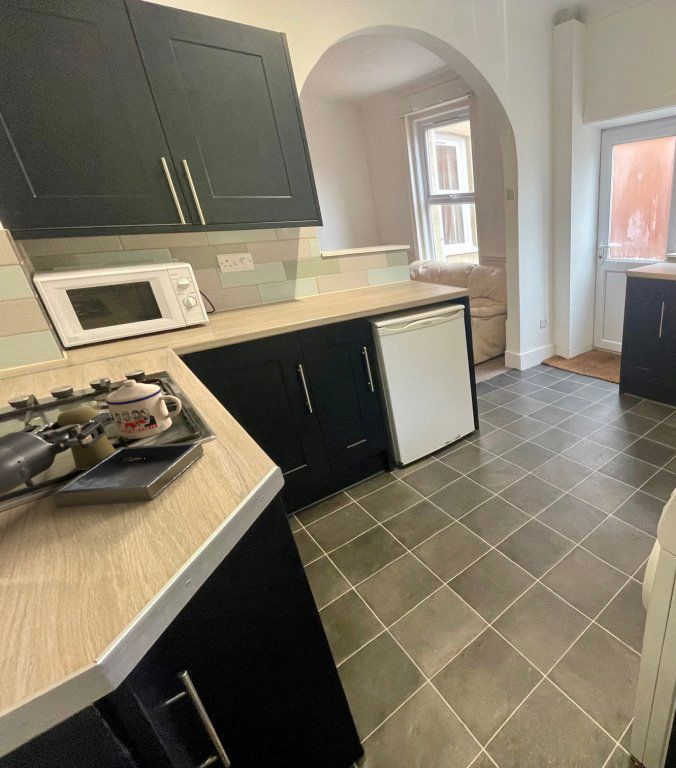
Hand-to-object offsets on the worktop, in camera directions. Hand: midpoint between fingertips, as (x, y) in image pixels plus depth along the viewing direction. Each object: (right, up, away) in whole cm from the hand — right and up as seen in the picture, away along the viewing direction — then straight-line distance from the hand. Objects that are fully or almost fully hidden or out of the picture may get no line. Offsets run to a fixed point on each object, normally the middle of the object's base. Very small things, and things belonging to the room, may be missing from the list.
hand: (92, 418), depth 79 cm
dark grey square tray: (+13, -10, -5) cm, 17 cm away
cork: (0, -9, +1) cm, 9 cm away
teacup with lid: (+1, -4, +13) cm, 14 cm away
